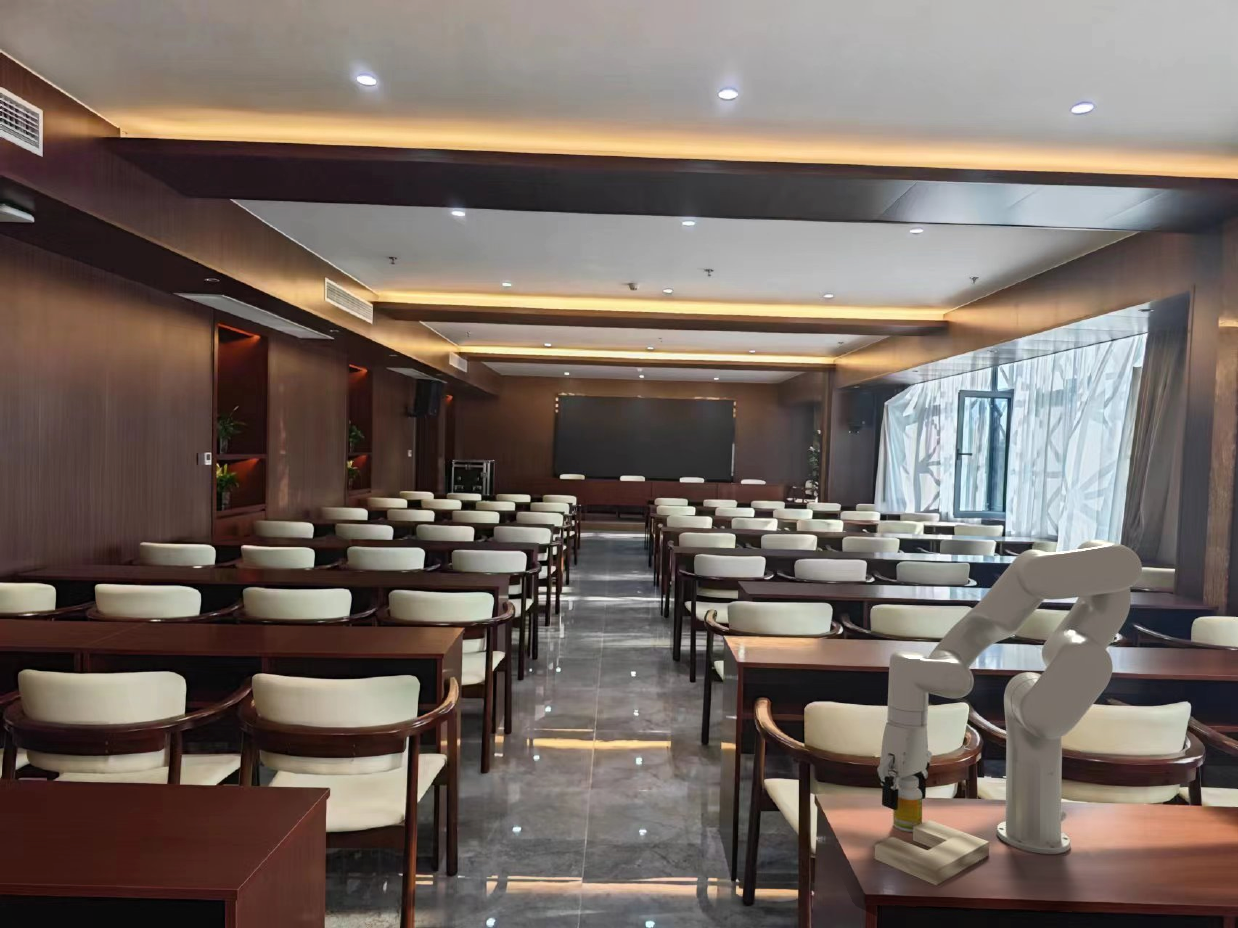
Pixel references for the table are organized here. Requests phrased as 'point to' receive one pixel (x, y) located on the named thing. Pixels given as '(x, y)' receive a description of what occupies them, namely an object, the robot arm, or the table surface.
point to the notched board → (933, 852)
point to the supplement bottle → (908, 804)
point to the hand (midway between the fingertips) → (903, 801)
